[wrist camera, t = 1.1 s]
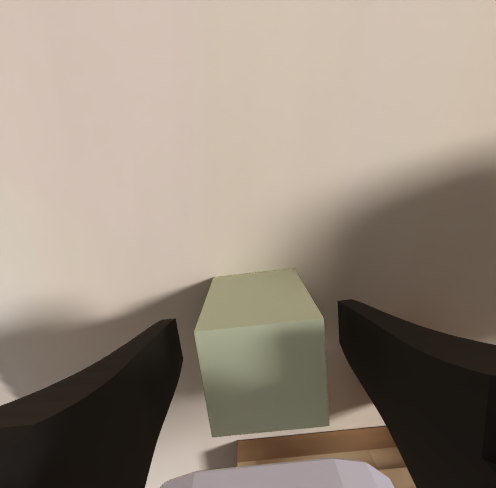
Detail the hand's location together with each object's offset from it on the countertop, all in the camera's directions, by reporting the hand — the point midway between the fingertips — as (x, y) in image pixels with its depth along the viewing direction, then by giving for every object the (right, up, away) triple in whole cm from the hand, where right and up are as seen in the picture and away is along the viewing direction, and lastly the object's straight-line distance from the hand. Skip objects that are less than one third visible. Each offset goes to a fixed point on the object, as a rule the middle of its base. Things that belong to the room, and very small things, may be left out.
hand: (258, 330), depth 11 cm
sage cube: (0, 0, +2) cm, 2 cm away
